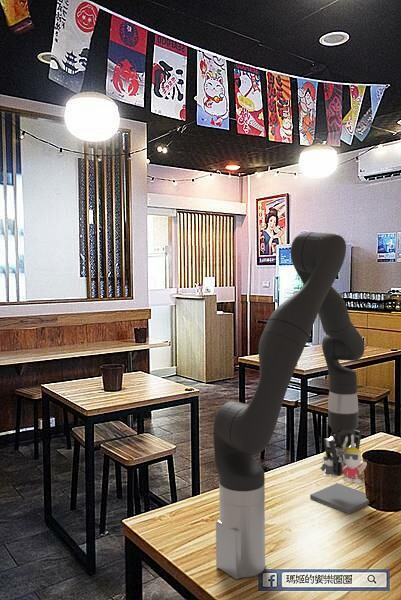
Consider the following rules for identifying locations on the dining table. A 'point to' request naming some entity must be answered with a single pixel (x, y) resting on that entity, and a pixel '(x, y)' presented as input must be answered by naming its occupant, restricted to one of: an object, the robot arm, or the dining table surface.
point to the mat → (341, 498)
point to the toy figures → (351, 468)
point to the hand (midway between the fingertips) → (343, 472)
